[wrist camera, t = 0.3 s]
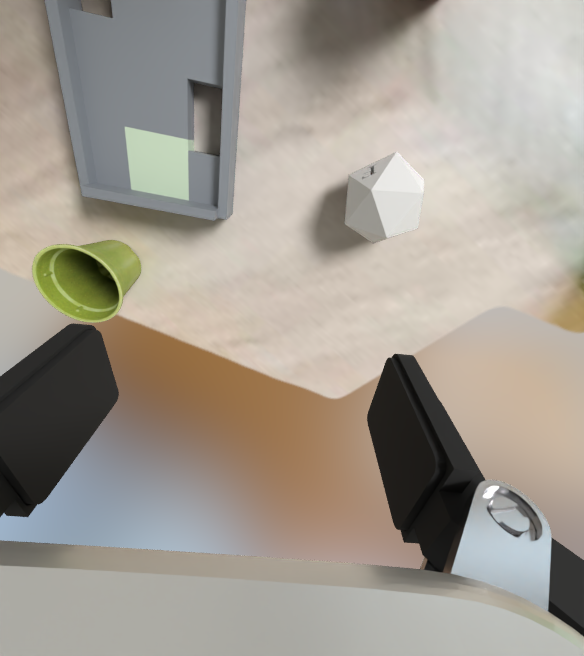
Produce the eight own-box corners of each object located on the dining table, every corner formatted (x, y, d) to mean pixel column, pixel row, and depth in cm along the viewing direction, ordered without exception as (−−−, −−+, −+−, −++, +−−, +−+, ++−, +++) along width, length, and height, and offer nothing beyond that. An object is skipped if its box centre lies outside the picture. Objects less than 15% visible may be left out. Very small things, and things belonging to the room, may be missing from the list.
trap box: (38, -196, 21) (-28, -285, 17) (254, -134, 22) (244, -202, 18) (100, 188, 34) (72, 194, 30) (232, 214, 36) (223, 222, 31)
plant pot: (78, 217, 36) (22, 234, 29) (154, 236, 37) (118, 257, 30) (87, 284, 41) (41, 312, 34) (154, 299, 42) (123, 330, 35)
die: (421, 161, 33) (407, 121, 25) (436, 234, 33) (426, 218, 25) (355, 191, 37) (323, 165, 29) (368, 255, 38) (341, 248, 30)
